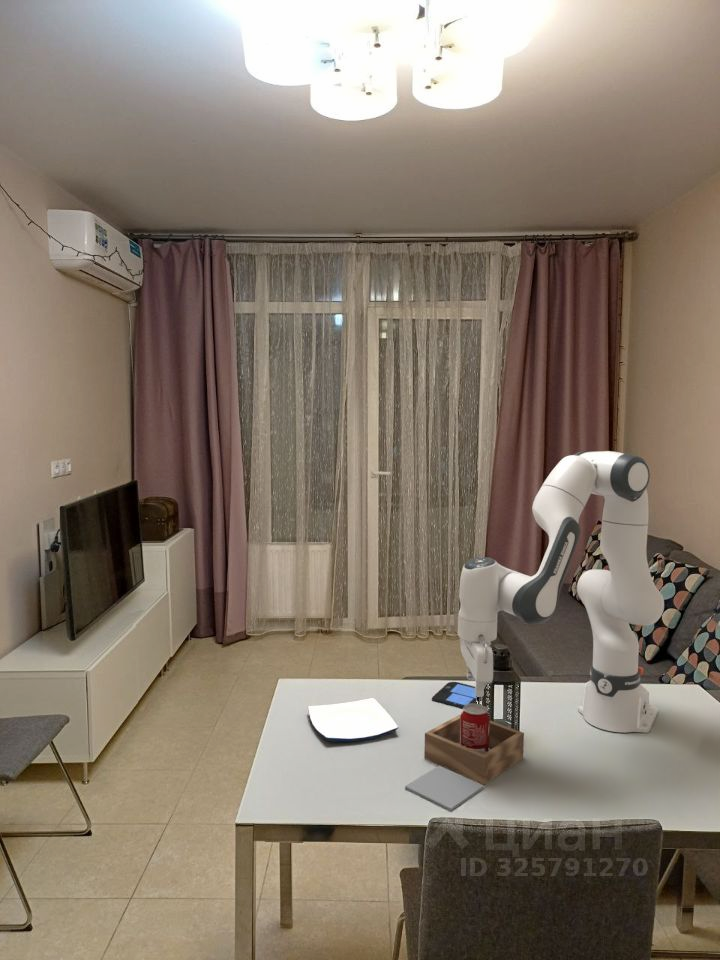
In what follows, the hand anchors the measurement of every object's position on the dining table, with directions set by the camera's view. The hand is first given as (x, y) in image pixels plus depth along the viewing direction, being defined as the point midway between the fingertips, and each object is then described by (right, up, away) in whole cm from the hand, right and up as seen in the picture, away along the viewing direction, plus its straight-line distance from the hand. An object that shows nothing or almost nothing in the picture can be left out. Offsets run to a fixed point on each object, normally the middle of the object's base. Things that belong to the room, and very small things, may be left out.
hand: (475, 687), depth 158 cm
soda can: (0, -17, +2) cm, 17 cm away
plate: (-29, -16, +18) cm, 37 cm away
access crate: (0, -17, +2) cm, 17 cm away
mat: (-8, -18, -11) cm, 23 cm away
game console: (+3, -15, +35) cm, 38 cm away
